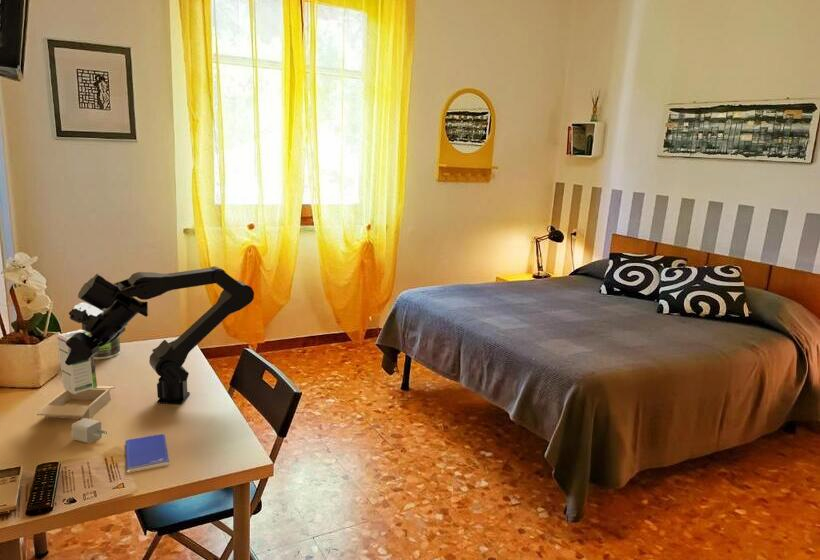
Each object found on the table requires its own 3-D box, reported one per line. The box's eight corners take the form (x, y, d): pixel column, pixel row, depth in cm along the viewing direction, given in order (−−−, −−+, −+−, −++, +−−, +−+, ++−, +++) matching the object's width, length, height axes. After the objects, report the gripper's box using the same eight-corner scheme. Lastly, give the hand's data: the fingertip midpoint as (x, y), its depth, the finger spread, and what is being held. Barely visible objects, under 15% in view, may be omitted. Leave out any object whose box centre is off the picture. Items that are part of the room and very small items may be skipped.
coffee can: (121, 357, 176) (118, 314, 172) (83, 361, 171) (79, 317, 168) (120, 346, 184) (117, 305, 181) (84, 350, 180) (80, 307, 176)
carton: (115, 394, 151) (115, 383, 150) (83, 424, 135) (82, 412, 134) (75, 393, 150) (74, 382, 149) (37, 423, 134) (36, 410, 133)
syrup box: (73, 395, 138) (67, 339, 135) (62, 388, 141) (56, 333, 138) (97, 387, 143) (92, 333, 139) (86, 381, 146) (81, 328, 142)
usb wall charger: (87, 432, 131) (86, 416, 130) (110, 438, 129) (109, 422, 128) (72, 440, 128) (71, 424, 127) (96, 447, 126) (95, 430, 125)
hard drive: (169, 460, 120) (164, 433, 131) (126, 468, 116) (125, 439, 127) (169, 466, 120) (164, 439, 131) (126, 475, 117) (125, 446, 127)
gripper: (109, 283, 145) (69, 323, 147) (70, 304, 127) (25, 349, 129) (142, 313, 148) (103, 352, 150) (109, 338, 130) (64, 381, 132)
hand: (75, 357), depth 140 cm, fingers closed on syrup box, 8 cm apart
